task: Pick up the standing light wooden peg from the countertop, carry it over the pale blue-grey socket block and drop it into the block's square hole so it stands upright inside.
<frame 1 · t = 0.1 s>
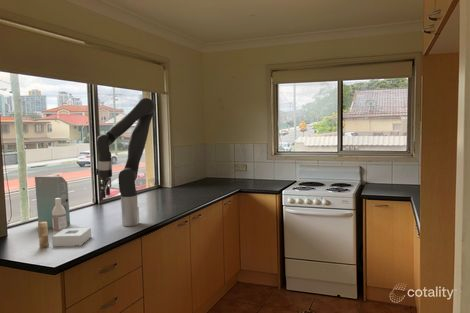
hand: (105, 196, 223), 17 cm above the worktop, tool pointing down, fingers open, 8 cm apart
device: (54, 226, 228), on the worktop
socket block: (72, 241, 195), on the worktop
peg: (44, 246, 187), on the worktop
bath foam: (60, 234, 208), on the worktop
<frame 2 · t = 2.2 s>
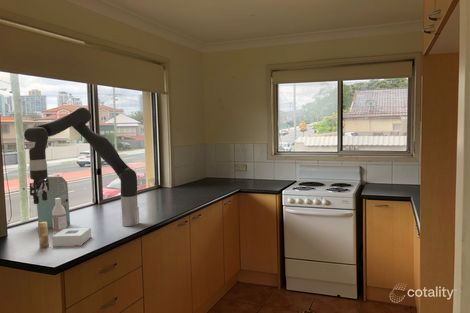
hand: (40, 202, 186), 22 cm above the worktop, tool pointing down, fingers open, 8 cm apart
nothing on the worktop moved.
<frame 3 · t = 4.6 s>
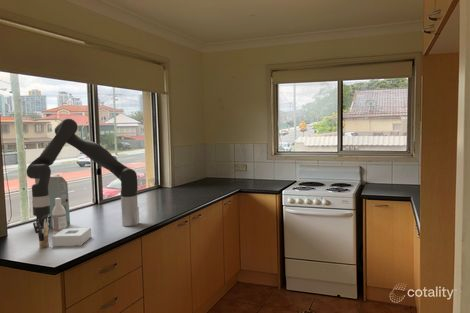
hand: (43, 239, 187), 4 cm above the worktop, tool pointing down, fingers closed on peg, 4 cm apart
peg: (44, 246, 187), on the worktop, touching gripper
everything else where it was.
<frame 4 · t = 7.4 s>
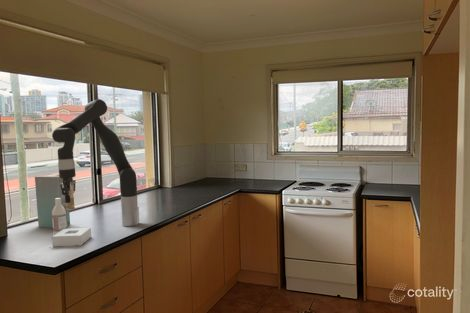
hand: (69, 201, 192), 21 cm above the worktop, tool pointing down, fingers closed on peg, 4 cm apart
peg: (70, 209, 193), point 17 cm above the worktop, touching gripper
everything else where it was.
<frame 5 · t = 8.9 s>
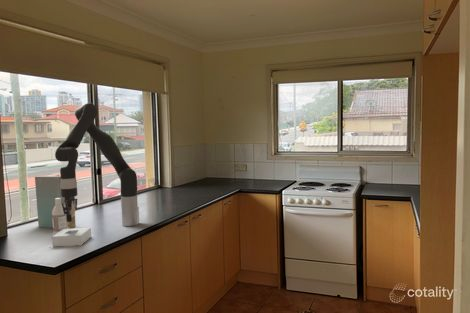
hand: (71, 220, 194), 11 cm above the worktop, tool pointing down, fingers closed on peg, 4 cm apart
peg: (71, 227, 194), point 7 cm above the worktop, touching gripper
everything else where it was.
when the fingers open (7 cm above the worktop, at t = 10.1 s): peg drops 3 cm, resting in socket block.
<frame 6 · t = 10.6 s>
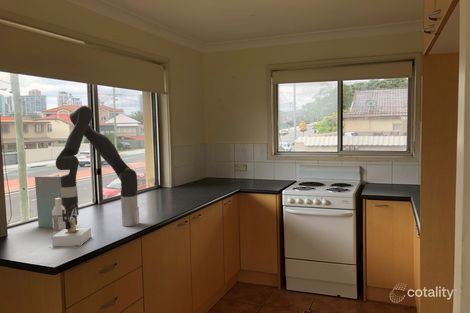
hand: (71, 226, 194), 8 cm above the worktop, tool pointing down, fingers open, 8 cm apart
peg: (72, 241, 195), resting in socket block
everything else where it was.
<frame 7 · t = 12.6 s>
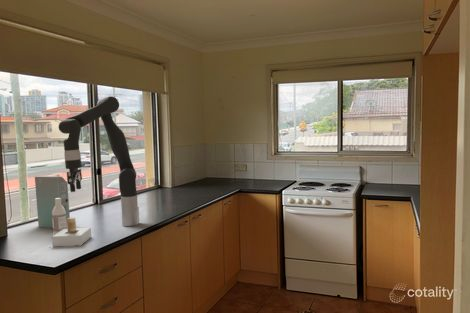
hand: (76, 190, 195), 26 cm above the worktop, tool pointing down, fingers open, 8 cm apart
nothing on the worktop moved.
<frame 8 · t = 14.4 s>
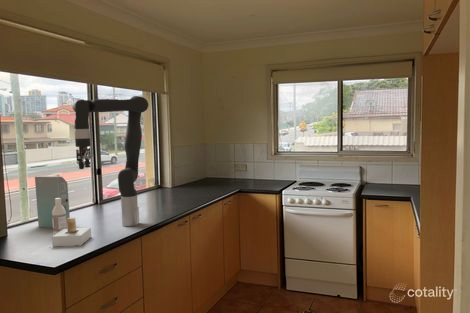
hand: (84, 168, 203), 36 cm above the worktop, tool pointing down, fingers open, 8 cm apart
nothing on the worktop moved.
at the end: peg 0.0 cm off-centre on the socket block, point 0.0 cm above the socket block's base; peg tilted 0°; the gripper is holding nothing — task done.
